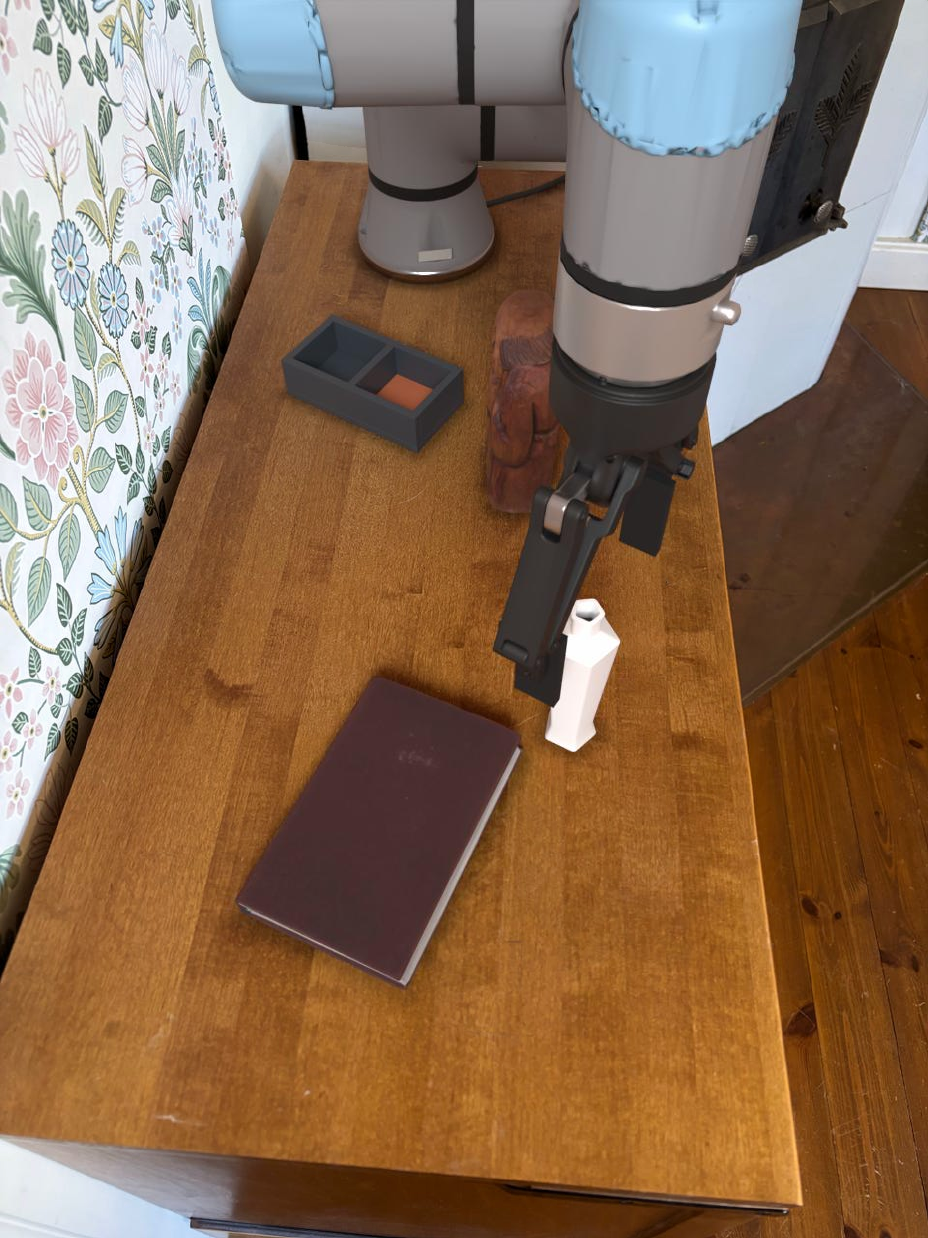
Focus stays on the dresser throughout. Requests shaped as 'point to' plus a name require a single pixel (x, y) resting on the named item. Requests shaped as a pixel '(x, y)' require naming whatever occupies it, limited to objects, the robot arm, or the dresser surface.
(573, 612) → the perfume bottle
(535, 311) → the wooden figurine
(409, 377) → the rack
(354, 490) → the dresser surface
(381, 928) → the book
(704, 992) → the dresser surface
